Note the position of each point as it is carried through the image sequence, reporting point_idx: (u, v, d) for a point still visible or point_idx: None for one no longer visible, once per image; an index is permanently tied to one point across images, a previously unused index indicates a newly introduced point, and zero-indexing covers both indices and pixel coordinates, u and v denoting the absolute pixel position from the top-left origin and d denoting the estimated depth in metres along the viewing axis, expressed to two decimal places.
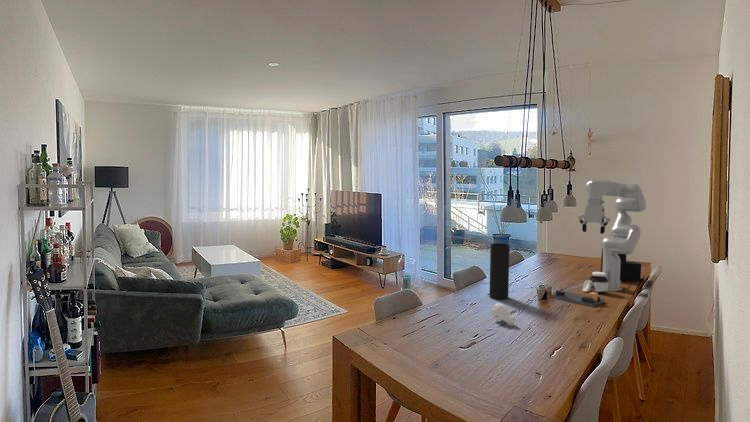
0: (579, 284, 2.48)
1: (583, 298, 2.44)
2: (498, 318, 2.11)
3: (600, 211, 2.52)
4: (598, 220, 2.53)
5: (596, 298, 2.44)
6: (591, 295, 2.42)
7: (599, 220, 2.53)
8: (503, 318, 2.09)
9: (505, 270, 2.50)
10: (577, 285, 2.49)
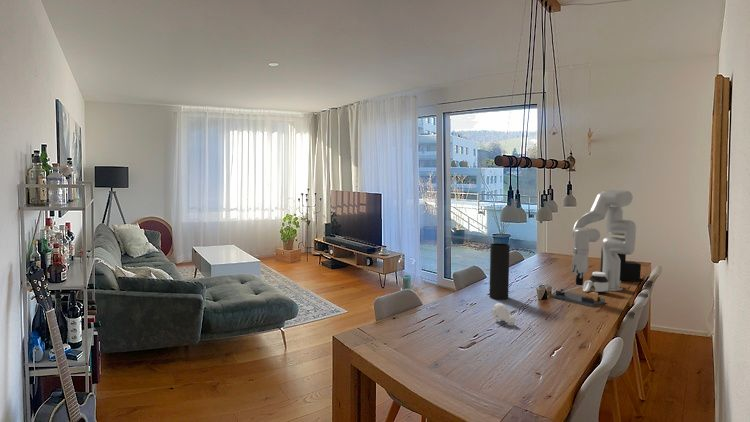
0: (580, 286, 2.48)
1: (583, 298, 2.44)
2: (498, 318, 2.11)
3: (587, 260, 2.49)
4: (586, 269, 2.49)
5: (596, 298, 2.44)
6: (591, 295, 2.42)
7: (587, 269, 2.50)
8: (503, 318, 2.09)
9: (505, 270, 2.50)
10: (578, 286, 2.49)
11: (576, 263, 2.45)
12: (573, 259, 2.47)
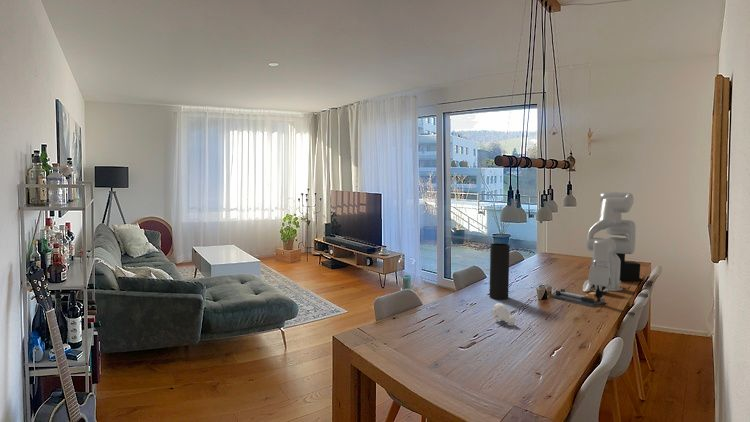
0: None
1: (583, 298, 2.44)
2: (498, 318, 2.11)
3: None
4: None
5: (596, 298, 2.44)
6: (591, 295, 2.42)
7: None
8: (503, 318, 2.09)
9: (505, 270, 2.50)
10: (580, 296, 2.48)
11: (609, 276, 2.37)
12: (608, 273, 2.36)
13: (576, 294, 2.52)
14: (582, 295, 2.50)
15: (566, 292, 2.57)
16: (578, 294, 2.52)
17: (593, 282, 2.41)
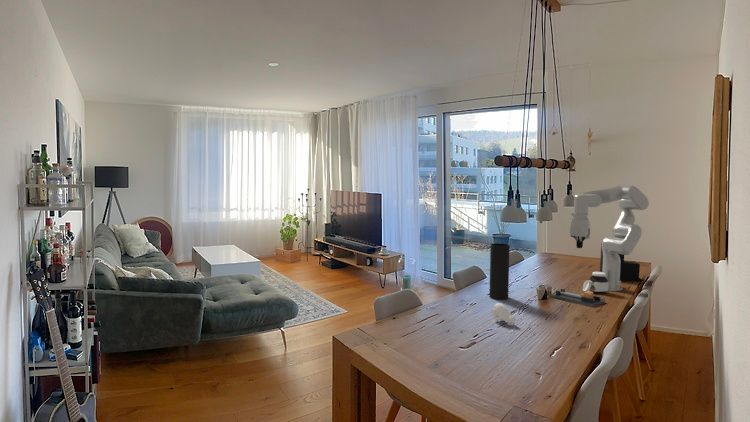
0: None
1: (583, 298, 2.44)
2: (498, 318, 2.11)
3: None
4: None
5: (591, 297, 2.46)
6: (586, 294, 2.44)
7: None
8: (503, 318, 2.09)
9: (505, 270, 2.50)
10: (580, 296, 2.48)
11: (589, 227, 2.56)
12: (587, 224, 2.55)
13: (576, 294, 2.52)
14: None
15: (566, 292, 2.57)
16: (578, 294, 2.52)
17: (574, 233, 2.60)
